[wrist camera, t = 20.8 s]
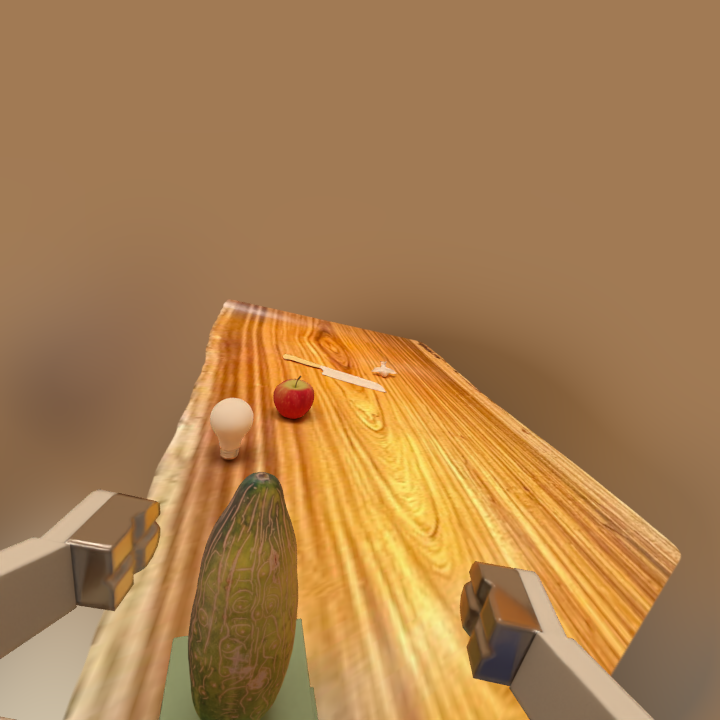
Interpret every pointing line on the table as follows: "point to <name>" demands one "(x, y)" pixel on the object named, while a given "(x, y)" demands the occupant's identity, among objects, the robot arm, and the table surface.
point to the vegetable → (244, 606)
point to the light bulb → (231, 425)
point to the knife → (339, 374)
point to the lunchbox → (287, 714)
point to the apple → (293, 398)
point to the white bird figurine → (384, 369)
